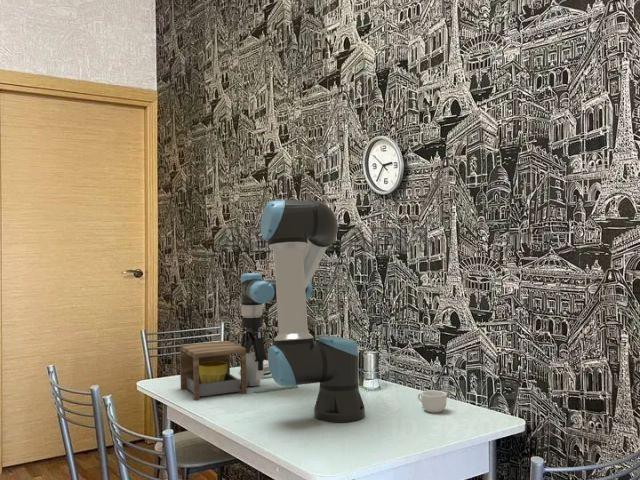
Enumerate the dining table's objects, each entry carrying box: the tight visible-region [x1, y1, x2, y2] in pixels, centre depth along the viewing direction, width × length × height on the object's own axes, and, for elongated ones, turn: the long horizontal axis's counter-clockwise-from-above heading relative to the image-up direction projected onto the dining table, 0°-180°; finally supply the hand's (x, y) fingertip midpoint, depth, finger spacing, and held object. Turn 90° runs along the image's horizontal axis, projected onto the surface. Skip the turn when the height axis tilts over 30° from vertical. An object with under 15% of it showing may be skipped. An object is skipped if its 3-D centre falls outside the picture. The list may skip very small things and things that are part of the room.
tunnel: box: [179, 340, 248, 401], centre depth 219 cm, size 18×18×16 cm
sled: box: [186, 351, 261, 398], centre depth 222 cm, size 15×25×11 cm, turn 117°
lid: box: [239, 359, 271, 375], centre depth 248 cm, size 13×13×5 cm
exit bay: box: [238, 374, 299, 394], centre depth 229 cm, size 21×16×1 cm
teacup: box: [417, 389, 448, 414], centre depth 192 cm, size 10×8×5 cm
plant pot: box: [199, 361, 227, 384], centre depth 219 cm, size 10×10×10 cm
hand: (252, 375), depth 226 cm, fingers open, 12 cm apart
